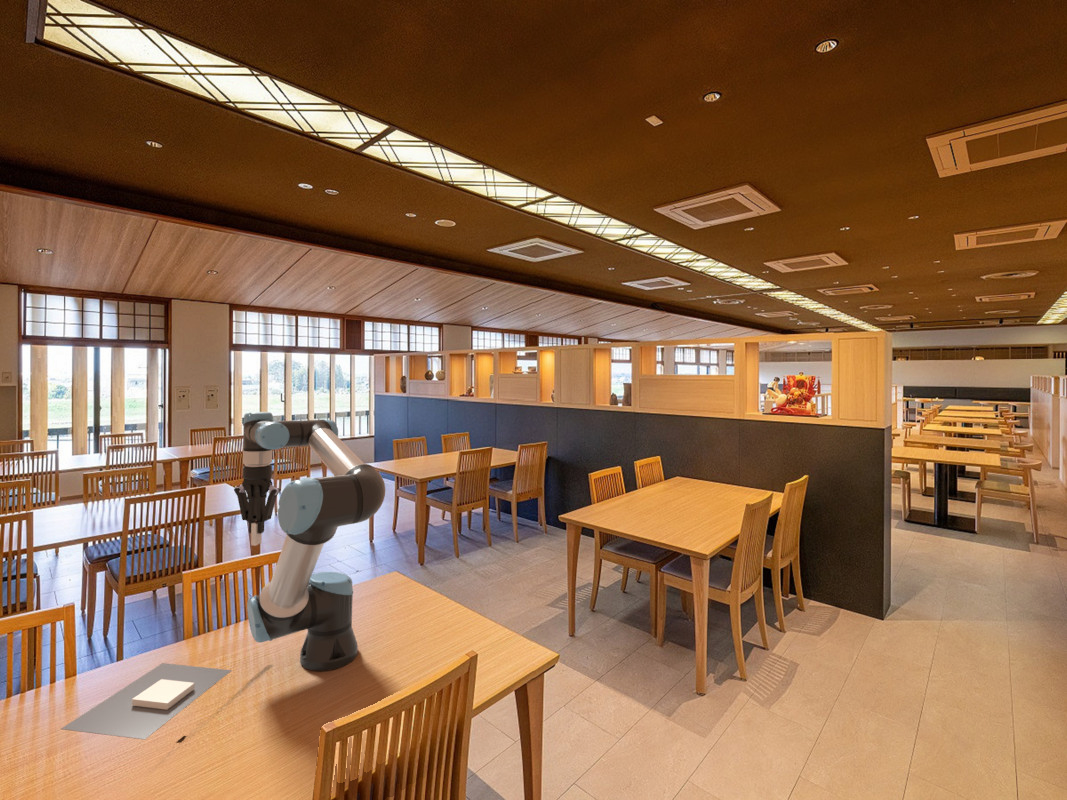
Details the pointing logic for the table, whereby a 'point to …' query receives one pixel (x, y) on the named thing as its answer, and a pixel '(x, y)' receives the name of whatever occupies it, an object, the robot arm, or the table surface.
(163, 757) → the table surface
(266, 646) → the table surface
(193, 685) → the tile
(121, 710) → the slate board
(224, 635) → the table surface
